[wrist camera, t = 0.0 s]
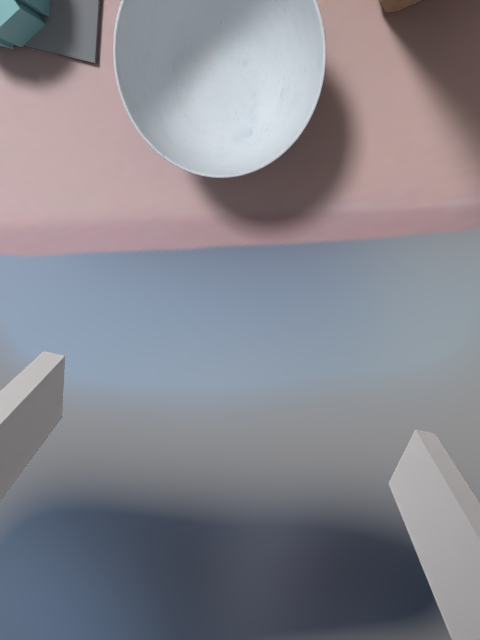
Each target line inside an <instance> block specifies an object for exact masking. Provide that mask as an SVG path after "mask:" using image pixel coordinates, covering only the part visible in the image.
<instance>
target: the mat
mask: <svg viewBox="0 0 480 640" xmlns="http://www.w3.org/2000/svg"><path fill="white" fill-rule="evenodd" d="M39 15H40V16H41V18H42V19H43V21H44V22H45V24H46V25H45V26H44V27H43V28H42V29H41V30H40V31H39V32H38V33H37V34H35V35H34V36H33V37H32V38H31V39H30V40H29V41H28V42H27V43H26V44H25V45H23V46H27V47H31V48H35V49H39V50H43V51H47V52H51V53H55V54H59V55H63V56H67V57H71V58H75V59H79V60H83V61H87V62H91V63H95V64H96V62H97V47H98V31H99V16H100V0H50V15H49V16H45V15H41V14H39Z"/></svg>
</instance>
